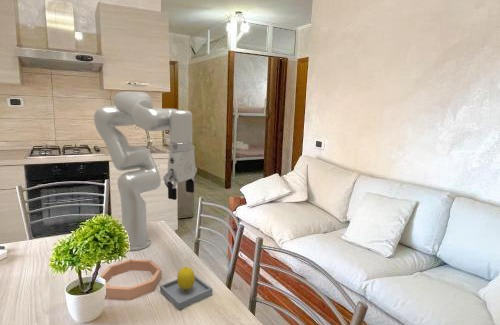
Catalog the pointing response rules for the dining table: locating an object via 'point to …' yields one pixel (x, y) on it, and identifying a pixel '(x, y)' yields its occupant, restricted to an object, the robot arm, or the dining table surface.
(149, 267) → the collar
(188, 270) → the lemon
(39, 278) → the dining table surface
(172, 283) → the tray
